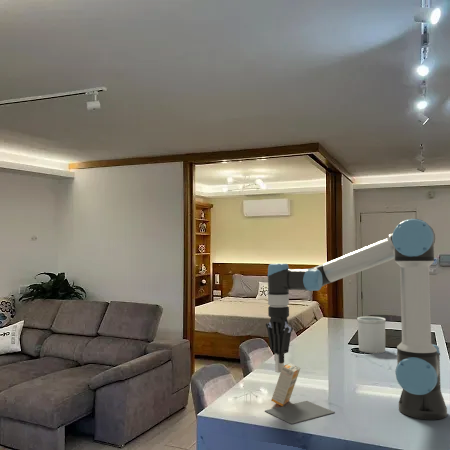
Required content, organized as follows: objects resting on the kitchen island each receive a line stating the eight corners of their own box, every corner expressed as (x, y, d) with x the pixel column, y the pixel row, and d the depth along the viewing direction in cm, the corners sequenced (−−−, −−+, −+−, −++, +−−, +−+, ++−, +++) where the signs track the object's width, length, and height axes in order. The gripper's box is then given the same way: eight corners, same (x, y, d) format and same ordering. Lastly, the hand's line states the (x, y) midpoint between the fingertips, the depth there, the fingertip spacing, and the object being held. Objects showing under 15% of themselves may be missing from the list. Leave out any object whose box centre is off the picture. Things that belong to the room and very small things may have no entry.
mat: (334, 412, 156) (334, 412, 156) (291, 424, 146) (291, 423, 146) (306, 401, 168) (306, 400, 168) (264, 411, 158) (264, 410, 158)
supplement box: (282, 407, 161) (294, 372, 160) (270, 400, 163) (282, 366, 162) (289, 401, 168) (301, 367, 168) (278, 395, 170) (289, 362, 170)
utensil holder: (383, 354, 242) (382, 321, 242) (354, 351, 249) (354, 319, 250) (388, 349, 254) (387, 317, 255) (361, 346, 262) (360, 315, 263)
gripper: (298, 306, 164) (299, 374, 163) (275, 303, 175) (276, 366, 174) (281, 308, 160) (282, 377, 159) (259, 304, 171) (260, 369, 170)
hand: (279, 371), depth 166 cm, fingers closed
